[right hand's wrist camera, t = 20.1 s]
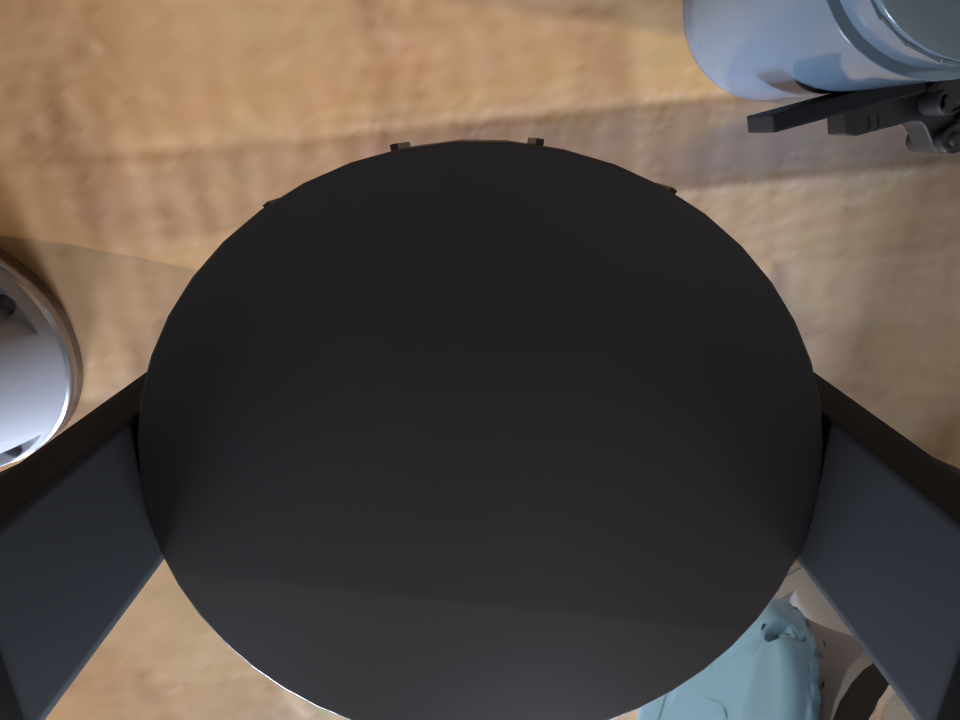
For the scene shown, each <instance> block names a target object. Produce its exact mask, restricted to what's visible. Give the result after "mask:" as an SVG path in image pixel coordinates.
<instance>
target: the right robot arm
mask: <svg viewBox="0 0 960 720" xmlns="http://www.w3.org/2000/svg"><path fill="white" fill-rule="evenodd" d="M146 375H147V372H146V373H145V374H143V375H142V376H141V377H139V378H138V379H136V380H135V381H134V382H132V383H131V384H129V385H128V386H127V387H125V388H124V389H122V390H121V391H120V392H118V393H117V394H115V395H114V396H113V397H111V398H110V399H108V400H107V401H106V402H104V403H103V404H102V405H100V406H99V407H97V408H96V409H95V410H93V411H92V412H90V413H89V414H88V415H86V416H85V417H83V418H82V419H81V420H79V421H78V422H76V423H75V424H74V425H72V426H71V427H69V428H68V429H67V430H65V431H64V432H62V433H61V434H60V435H58V436H57V437H55V438H54V439H53V440H51V439H52V438H53V437H54V436H56V435H57V434H58V433H59V432H60V431H61V430H62V429H63V428H64V427H65V425H66V424H67V423H68V422H69V420H70V419H71V417H72V415H73V414H74V412H75V409H76V407H77V405H78V402H79V398H80V395H81V389H82V381H83V368H82V359H81V353H80V349H79V345H78V342H77V339H76V336H75V333H74V331H73V328H72V326H71V324H70V322H69V320H68V318H67V316H66V315H65V313H64V311H63V310H62V308H61V307H60V305H59V304H58V302H57V301H56V299H55V298H54V297H53V295H52V294H51V293H50V292H49V291H48V289H47V288H46V287H45V286H44V285H43V284H42V283H41V282H40V281H39V280H38V279H37V278H36V277H35V276H34V275H33V274H32V273H31V272H30V271H28V270H27V269H26V268H25V267H24V266H22V265H21V264H20V263H18V262H17V261H16V260H14V259H13V258H12V257H10V256H8V255H7V254H5V253H4V252H2V251H0V467H1V466H3V465H6V464H9V463H11V462H14V461H17V460H19V459H21V458H24V457H26V456H27V455H29V454H31V453H32V452H34V451H35V450H37V449H38V448H39V447H41V446H42V445H44V444H45V443H46V442H48V441H49V440H51V441H50V442H48V443H47V444H46V445H44V446H43V447H41V448H40V449H39V450H37V451H36V452H34V453H33V454H32V455H30V456H29V457H27V458H26V459H25V460H23V461H22V462H20V463H19V464H17V465H15V466H13V467H10V468H8V469H6V470H4V471H2V472H0V720H45V719H46V717H47V716H48V715H49V713H50V712H51V710H52V709H53V708H54V706H55V705H56V704H57V702H58V701H59V700H60V698H61V697H62V696H63V694H64V693H65V692H66V690H67V689H68V688H69V686H70V685H71V684H72V682H73V681H74V679H75V678H76V677H77V675H78V674H79V673H80V671H81V670H82V669H83V667H84V666H85V665H86V663H87V662H88V661H89V659H90V658H91V657H92V655H93V654H94V653H95V651H96V650H97V649H98V647H99V646H100V644H101V643H102V642H103V640H104V639H105V638H106V636H107V635H108V634H109V632H110V631H111V630H112V628H113V627H114V626H115V624H116V623H117V622H118V620H119V619H120V618H121V616H122V615H123V614H124V612H125V611H126V609H127V608H128V607H129V605H130V604H131V603H132V601H133V600H134V599H135V597H136V596H137V595H138V593H139V592H140V591H141V589H142V588H143V587H144V585H145V584H146V583H147V581H148V580H149V578H150V577H151V576H152V574H153V573H154V572H155V570H156V569H157V568H158V566H159V565H160V564H161V562H162V561H163V560H164V556H163V555H162V553H161V551H160V548H159V545H158V542H157V540H156V537H155V534H154V532H153V529H152V526H151V523H150V520H149V516H148V512H147V507H146V503H145V498H144V494H143V489H142V484H141V480H140V475H139V460H138V443H137V434H138V424H139V413H140V402H141V395H142V391H143V387H144V383H145V379H146ZM814 377H815V381H816V385H817V390H818V394H819V398H820V403H821V417H822V430H823V455H822V467H821V478H820V483H819V488H818V492H817V497H816V501H815V506H814V510H813V515H812V519H811V523H810V526H809V528H808V531H807V533H806V536H805V539H804V541H803V544H802V546H801V549H800V551H799V554H798V556H797V558H796V559H797V560H798V562H799V563H800V564H801V566H802V567H803V569H804V570H805V571H806V573H807V574H808V575H809V577H810V578H811V579H812V581H813V582H814V583H815V585H816V586H817V587H818V589H819V590H820V591H821V593H822V594H823V595H824V597H825V598H826V599H827V601H828V602H829V604H830V605H831V606H832V608H833V609H834V610H835V612H836V613H837V614H838V616H839V617H840V618H841V620H842V621H843V622H844V624H845V625H846V626H847V628H848V629H849V630H850V632H851V633H852V634H853V636H854V637H855V639H856V640H857V641H858V643H859V644H860V645H861V647H862V648H863V649H864V651H865V652H866V653H867V655H868V656H869V657H870V659H871V660H872V661H873V663H874V664H875V665H876V667H877V668H878V669H879V671H880V672H881V674H882V675H883V676H884V678H885V679H886V680H887V682H888V683H889V684H890V686H891V687H892V688H893V690H894V691H895V692H896V694H897V695H898V696H899V698H900V699H901V700H902V702H903V703H904V704H905V706H906V707H907V709H908V710H909V711H910V713H911V714H912V715H913V717H914V718H915V719H916V720H960V469H958V468H956V467H953V466H951V465H949V464H947V463H945V462H942V461H940V460H938V459H936V458H933V457H932V456H930V455H929V454H927V453H926V452H925V451H923V450H922V449H920V448H919V447H918V446H916V445H915V444H913V443H912V442H911V441H909V440H908V439H906V438H905V437H904V436H902V435H901V434H899V433H898V432H897V431H895V430H894V429H892V428H891V427H890V426H888V425H887V424H885V423H884V422H883V421H881V420H880V419H879V418H877V417H876V416H874V415H873V414H872V413H870V412H869V411H867V410H866V409H865V408H863V407H862V406H860V405H859V404H858V403H856V402H855V401H853V400H852V399H851V398H849V397H848V396H846V395H845V394H844V393H842V392H841V391H839V390H838V389H837V388H835V387H834V386H832V385H831V384H830V383H828V382H827V381H825V380H824V379H823V378H821V377H820V376H818V375H817V374H816V373H814Z"/></svg>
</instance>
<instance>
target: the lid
mask: <svg viewBox="0 0 960 720" xmlns="http://www.w3.org/2000/svg"><path fill="white" fill-rule="evenodd" d="M543 144H544V139H539V138H528V142H527V143H521V142H514V141H508V140H455V141H447V142H440V143H432V144H424V145H417V146H412V147H411V146H410V142H404V143H396V144H392V145H390V148H391V152H387V153H384V154H380V155H376V156H373V157H369V158H365V159H362V160H358V161H355V162H351V163H349V164H347V165H344V166H342V167H340V168H337V169H335V170H333V171H331V172H328V173H326V174H324V175H321V176H319V177H317V178H315V179H312V180H310V181H308V182H305V183H303V184H302V185H300V186H298V187H297V188H295V189H294V190H292V191H290V192H289V193H287V194H286V195H284V196H282V197H281V198H278V199H274V200H271V201H268V202H267V203H265V204H264V205H263V207H264V208H263V209H262V210H260V211H259V212H258V213H257V214H255V215H254V216H253V217H252V218H251V219H250V220H248V221H247V222H246V223H245V224H244V225H243V226H241V227H240V228H239V229H238V230H237V231H235V232H234V233H233V234H232V235H231V236H230V237H228V238H227V239H226V240H225V241H224V242H223V243H222V244H221V245H220V246H219V247H218V249H217V250H216V251H215V252H214V253H213V254H212V255H211V257H210V258H209V259H208V260H207V261H206V262H205V264H204V265H203V266H202V267H201V268H200V269H199V270H198V272H197V273H196V274H195V275H194V276H193V277H192V279H191V281H190V282H189V284H188V285H187V287H186V289H185V290H184V292H183V293H182V295H181V297H180V298H179V300H178V301H177V303H176V304H175V306H174V308H173V309H172V311H171V312H170V314H169V316H168V318H167V320H166V323H165V325H164V327H163V330H162V332H161V334H160V337H159V339H158V341H157V344H156V346H155V348H154V351H153V353H152V355H151V359H150V363H149V367H148V371H147V375H146V379H145V383H144V387H143V391H142V395H141V402H140V413H139V424H138V434H137V443H138V460H139V475H140V480H141V484H142V489H143V494H144V498H145V503H146V507H147V512H148V516H149V520H150V523H151V526H152V529H153V532H154V534H155V537H156V540H157V542H158V545H159V548H160V551H161V553H162V555H163V556H164V558H165V560H166V562H167V564H168V566H169V568H170V570H171V572H172V573H173V575H174V577H175V579H176V581H177V583H178V585H179V586H180V588H181V589H182V590H183V592H184V593H185V595H186V596H187V597H188V599H189V600H190V602H191V603H192V605H193V606H194V607H195V609H196V610H197V612H198V613H199V614H200V616H201V617H202V618H203V619H204V620H205V621H206V622H207V623H208V624H209V626H210V627H211V628H212V629H213V630H214V631H215V632H216V633H217V634H218V635H219V637H220V638H221V639H222V640H223V641H224V642H225V643H226V644H227V645H228V646H230V647H231V648H232V649H233V650H234V651H235V652H236V653H238V654H239V655H240V656H241V657H242V658H243V659H244V660H246V661H247V662H248V663H249V664H250V665H251V666H253V667H254V668H255V669H257V670H258V671H260V672H261V673H263V674H264V675H265V676H267V677H268V678H270V679H271V680H273V681H274V682H276V683H277V684H279V685H280V686H281V687H283V688H284V689H286V690H288V691H290V692H292V693H294V694H296V695H297V696H299V697H301V698H303V699H305V700H307V701H308V702H310V703H312V704H314V705H316V706H318V707H321V708H323V709H325V710H328V711H330V712H333V713H335V714H337V715H340V716H342V717H345V718H347V719H349V720H611V719H613V718H616V717H618V716H621V715H623V714H626V713H628V712H631V711H633V710H636V709H638V708H641V707H642V706H644V705H646V704H648V703H650V702H652V701H654V700H656V699H658V698H660V697H662V696H663V695H665V694H667V693H669V692H671V691H673V690H674V689H676V688H677V687H679V686H680V685H682V684H683V683H685V682H686V681H688V680H689V679H691V678H692V677H694V676H695V675H697V674H698V673H700V672H701V671H703V670H704V669H705V668H707V667H708V666H709V665H710V664H711V663H713V662H714V661H715V660H716V659H717V658H718V657H720V656H721V655H722V654H723V653H724V652H726V651H727V650H728V649H729V648H730V647H732V646H733V644H734V643H735V642H736V641H737V640H738V639H739V638H740V637H741V636H742V635H743V634H744V633H745V632H746V631H747V630H748V629H749V627H750V626H751V625H752V624H753V623H754V622H755V621H756V620H757V619H758V618H759V616H760V615H761V614H762V612H763V611H764V609H765V608H766V607H767V605H768V604H769V603H770V601H771V600H772V599H773V597H774V596H775V594H776V593H777V592H778V590H779V589H780V587H781V585H782V584H783V582H784V580H785V578H786V576H787V575H788V573H789V571H790V569H791V567H792V565H793V564H794V562H795V560H796V558H797V556H798V554H799V551H800V549H801V546H802V544H803V541H804V539H805V536H806V533H807V531H808V528H809V526H810V523H811V519H812V515H813V510H814V506H815V501H816V497H817V492H818V488H819V483H820V478H821V467H822V455H823V430H822V417H821V403H820V398H819V394H818V390H817V385H816V381H815V377H814V372H813V368H812V364H811V360H810V358H809V355H808V353H807V350H806V348H805V345H804V343H803V340H802V338H801V335H800V333H799V330H798V328H797V325H796V323H795V321H794V319H793V317H792V316H791V314H790V312H789V311H788V309H787V307H786V306H785V304H784V302H783V301H782V299H781V297H780V296H779V294H778V292H777V291H776V289H775V287H774V286H773V284H772V282H771V281H770V280H769V279H768V277H767V276H766V275H765V274H764V273H763V271H762V270H761V269H760V268H759V267H758V265H757V264H756V263H755V262H754V261H753V259H752V258H751V257H750V256H749V255H748V253H747V252H746V251H745V250H744V249H743V247H742V246H741V245H740V244H738V243H737V242H736V241H735V240H734V239H733V238H732V237H731V236H729V235H728V234H727V233H726V232H725V231H724V230H723V229H721V228H720V227H719V226H718V225H717V224H716V223H715V222H714V221H712V220H711V219H710V218H709V217H708V216H707V215H706V214H704V213H703V212H701V211H700V210H698V209H697V208H695V207H694V206H692V205H690V204H689V203H687V202H686V201H684V200H683V199H681V198H680V197H678V196H677V195H675V194H676V192H677V190H675V189H673V188H672V187H668V186H665V185H661V184H658V183H654V182H652V181H650V180H648V179H645V178H643V177H641V176H639V175H637V174H635V173H632V172H630V171H628V170H626V169H624V168H621V167H619V166H617V165H615V164H611V163H608V162H605V161H601V160H598V159H594V158H591V157H588V156H584V155H581V154H578V153H574V152H571V151H567V150H564V149H559V148H553V147H548V146H543Z"/></svg>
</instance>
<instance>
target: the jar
mask: <svg viewBox="0 0 960 720" xmlns="http://www.w3.org/2000/svg"><path fill="white" fill-rule="evenodd" d="M683 16H684V27H685V32H686V37H687V41H688V44H689V47H690V50H691V52H692V54H693V56H694V58H695V60H696V62H697V64H698V65H699V67H700V68H701V70H702V71H703V72H704V74H705V75H706V76H707V77H708V78H709V79H710V80H711V81H712V82H713V83H715V84H716V85H717V86H718V87H720V88H721V89H723V90H725V91H726V92H728V93H730V94H732V95H735V96H738V97H740V98H745V99H749V100H759V101H768V100H779V99H787V98H796V97H805V96H814V95H823V94H831V93H840V92H849V91H858V90H867V89H875V88H884V87H893V86H902V85H911V84H919V83H928V82H937V81H946V80H955V79H959V78H960V0H684V10H683Z"/></svg>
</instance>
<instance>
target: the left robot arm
mask: <svg viewBox="0 0 960 720" xmlns="http://www.w3.org/2000/svg"><path fill="white" fill-rule="evenodd" d="M959 101H960V78H959V79H955V80H946V81H937V82H928V83H919V84H911V85H902V86H893V87H884V88H875V89H867V90H858V91H849V92H840V93H831V94H827V95H824V96H820V97H816V98H813V99H809V100H805V101H802V102H798V103H794V104H791V105H787V106H783V107H780V108H776V109H772V110H769V111H765V112H761V113H758V114H754V115H750V116H747V121H748V131H749V133H774V132H778V131H781V130H785V129H789V128H793V127H796V126H800V125H804V124H807V123H811V122H815V121H819V120H822V119H826V118H827V123H828V134H832V135H839V136H857V135H861V134H864V133H868V132H872V131H876V130H879V129H883V128H887V127H891V126H894V125H898V124H903V125H904V126H905V128H906V130H907V132H908V135H907V138H906V146H907V147H908V149H909V150H911V151H913V152H931V153H955V152H958V151H960V102H959ZM958 102H959V103H958ZM956 103H958V104H956ZM955 104H956V105H955ZM637 720H916V719H915V718H914V717H913V715H912V714H911V713H910V711H909V710H908V709H907V707H906V706H905V704H904V703H903V702H902V700H901V699H900V698H899V696H898V695H897V694H896V692H895V691H894V690H893V688H892V687H891V686H890V684H889V683H888V682H887V680H886V679H885V678H884V676H883V675H882V674H881V672H880V671H879V669H878V668H877V667H876V665H875V664H874V663H873V661H872V660H871V659H870V657H869V656H868V655H867V653H866V652H865V651H864V649H863V648H862V647H861V645H860V644H859V643H858V641H857V640H856V639H855V637H854V636H853V634H852V633H851V632H850V630H849V629H848V628H847V626H846V625H845V624H844V622H843V621H842V620H841V618H840V617H839V616H838V614H837V613H836V612H835V610H834V609H833V608H832V606H831V605H830V604H829V602H828V601H827V599H826V598H825V597H824V595H823V594H822V593H821V591H820V590H819V589H818V587H817V586H816V585H815V583H814V582H813V581H812V579H811V578H810V577H809V575H808V574H807V573H806V571H805V570H804V569H803V567H802V566H801V564H800V563H799V562H798V560H797V559H796V560H795V562H794V564H793V565H792V567H791V569H790V571H789V573H788V575H787V576H786V578H785V580H784V582H783V584H782V585H781V587H780V589H779V590H778V592H777V593H776V594H775V596H774V597H773V599H772V600H771V601H770V603H769V604H768V605H767V607H766V608H765V609H764V611H763V612H762V614H761V615H760V616H759V618H758V619H757V620H756V621H755V622H754V623H753V624H752V625H751V626H750V627H749V629H748V630H747V631H746V632H745V633H744V634H743V635H742V636H741V637H740V638H739V639H738V640H737V641H736V642H735V643H734V644H733V646H732V647H730V648H729V649H728V650H727V651H726V652H724V653H723V654H722V655H721V656H720V657H718V658H717V659H716V660H715V661H714V662H713V663H711V664H710V665H709V666H708V667H707V668H705V669H704V670H703V671H701V672H700V673H698V674H697V675H695V676H694V677H692V678H691V679H689V680H688V681H686V682H685V683H683V684H682V685H680V686H679V687H677V688H676V689H674V690H673V691H671V692H669V693H667V694H665V695H663V696H662V697H660V698H658V699H656V700H654V701H652V702H650V703H648V704H646V705H644V706H642V707H641V708H639V713H638V719H637Z"/></svg>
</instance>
